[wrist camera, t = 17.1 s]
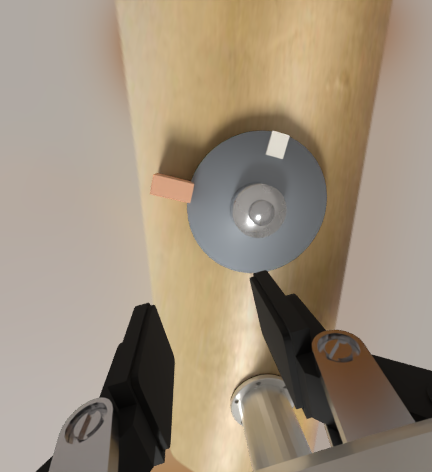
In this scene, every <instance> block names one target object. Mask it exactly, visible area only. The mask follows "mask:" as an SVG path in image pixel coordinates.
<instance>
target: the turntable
mask: <svg viewBox="0 0 432 472" xmlns="http://www.w3.org/2000/svg"><path fill="white" fill-rule="evenodd" d="M249 183H262V184H266V185H269V186H272V187H274V188H276V189H277V190H278V191H280V193H281V194H282V195H283V197H284V199H285V202H286V206H287V212H286V217H285V220H284V222H283V224H282V225H281V227H280V228H279V229H278V230H277V231H276V232H275V233H273V234H272V235H270V236H267V237H264V238H253V237H249V236H247V235H245V234H244V233H242V232H241V231H240V230H239V228H238V227H237V226H236V225H235V223H234V222H233V220H232V218H231V215H230V203H231V199H232V197H233V195H234V194H235V193H236V191H237V190H238V189H239V188H241V187H242V186H244V185H246V184H249ZM150 194H151V195H156V196H160V197H164V198H169V199H173V200H178V201H182V202H187V213H188V220H189V224H190V228H191V231H192V233H193V236H194V238H195V240H196V241H197V243H198V245H199V246H200V247H201V249H202V250H203V251H204V252H205V253H206V254H207V255H208V256H209V257H210V258H211V259H212V260H214V261H215V262H217V263H218V264H220V265H222V266H224V267H226V268H228V269H231V270H234V271H238V272H245V273H256V272H260V271H263V270H267V271H270V270H274V269H277V268H279V267H282V266H284V265H286V264H287V263H289V262H291V261H292V260H294V259H295V258H297V257H298V256H299V255H300V254H301V253H302V252H303V251H304V250H305V249H306V248H307V247H308V246H309V245H310V243H311V242H312V241H313V239H314V238H315V236H316V234H317V233H318V231H319V229H320V226H321V224H322V222H323V218H324V215H325V210H326V201H327V193H326V184H325V180H324V176H323V173H322V171H321V168H320V166H319V164H318V162H317V161H316V159H315V158H314V157H313V155H312V154H311V153H310V152H309V151H308V150H307V149H306V147H304V146H303V145H302V144H301V143H299V142H298V141H296V140H294V139H293V138H291V137H290V135H286V134H283V133H279V132H276V131H251V132H246V133H242V134H239V135H237V136H234V137H231V138H230V139H228V140H226V141H224V142H222V143H220V144H219V145H218V146H216V147H215V148H214V149H212V150H211V151H210V152H209V153H208V154H207V155H206V156H205V158H204V159H203V160H202V161H201V163H200V164H199V166H198V167H197V169H196V171H195V173H194V175H193V177H192V180H191V181H188V180H184V179H180V178H176V177H172V176H168V175H164V174H159V173H156V174H154V175H153V180H152V185H151V191H150Z"/></svg>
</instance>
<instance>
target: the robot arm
mask: <svg viewBox="0 0 432 472" xmlns="http://www.w3.org/2000/svg"><path fill="white" fill-rule="evenodd" d="M253 276H254V277H251V278H250V283H251V287H252V291H253V296H254V300H255V305H256V309H257V313H258V318H259V322H260V327H261V330H262V334H263V336H264V339H265V341H266V343H267V345H268V348H269V350H270V352H271V354H272V357H273V359H274V361H275V363H276V365H277V368H278V370H279V372H280V374H281V377H280V376H276V375H269V374H266V375H259V376H255V377H253V378H250V379H248V380H247V381H245V382H243V383H242V384H241V385H240V386H239V387H238V388H237V389H236V390H235V392H234V394H233V396H232V399H231V405H230V406H231V412H232V415H233V417H234V419H235V420H236V421H237V422H238V423H239V424H240V425H242V426H243V428H244V433H245V437H246V442H247V447H248V451H249V456H250V460H251V465H252V469H253V472H432V371H430V370H426V369H423V368H419V367H415V366H412V365H408V364H404V363H401V362H397V361H393V360H390V359H386V358H382V357H379V356H375V355H371V353H370V352H369V350H368V349H367V348H366V346H365V344H364V343H363V342H362V341H361V340H360V338H358V337H357V336H355V335H354V334H352V333H349V332H346V331H342V330H327V331H326V330H325V329H324V328H323V326H322V325H321V324H320V323H319V322H318V320H317V319H316V318H315V317H314V316H313V314H312V313H311V312H310V311H309V310H308V308H307V307H306V306H305V305H304V304H303V302H302V301H301V300H300V299H299V298H298V296H297V295H296V294H290V295H287V296H285V294H284V293H283V292H282V290H281V289H280V288H279V286H278V285H277V284H276V282H275V281H274V280H273V278H272V277H271V276H270V274H269V273H268V272H267V270H263V271H260V272H256V273H253ZM174 367H175V360H174V355H173V352H172V349H171V347H170V344H169V341H168V339H167V336H166V333H165V331H164V328H163V325H162V322H161V320H160V317H159V314H158V312H157V309H156V307H155V305H150V304H149V303H146V304H142V305H139V306H136V307H135V308H134V311H133V314H132V316H131V320H130V322H129V325H128V328H127V331H126V334H125V337H124V340H123V342H122V343H120V344H119V346H118V348H117V350H116V353H115V356H114V359H113V361H112V364H111V367H110V370H109V372H108V375H107V378H106V381H105V383H104V386H103V389H102V392H101V395H100V397H99V398H96V399H93V400H90V401H88V402H87V403H85V404H83V405H82V406H80V407H79V408H78V409H77V410H75V411H74V412H73V414H72V415H71V416H70V417H69V418H68V419H67V421H66V422H65V424H64V425H63V427H62V429H61V431H60V434H59V437H58V440H57V444H56V447H55V451H54V455H53V456H52V457H51V458H50V459H49V460H48V461H47V462H46V463H45V464H44V465H42V466H41V467H40V468H39V469H38V470H37V471H36V472H150V471H151V470H152V468H153V467H154V466H156V465H159V464H162V463H164V461H165V449H169V448H170V444H171V425H172V406H173V386H174ZM294 405H295V407H296V409H299V408H302V409H303V412H304V414H305V416H306V418H307V419H308V418H311V417H312V418H314V419H316V420H318V421H320V422H322V423H324V425H325V430H326V433H327V436H328V439H329V442H330V445H331V448H328V449H325V450H321V451H318V452H315V453H312V452H311V450H310V447H309V445H308V443H307V441H306V438H305V436H304V434H303V431H302V429H301V427H300V425H299V422H298V420H297V418H296V415H295V413H294V411H293V407H294Z"/></svg>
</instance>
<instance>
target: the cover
mask: <svg viewBox="0 0 432 472" xmlns="http://www.w3.org/2000/svg"><path fill="white" fill-rule="evenodd" d="M286 212H287V206H286V202H285V199H284V197H283V195H282V194H281V193H280V191H278V190H277V189H276V188H274V187H272V186H269V185H266V184H262V183H249V184H246V185H244V186H242V187H241V188H239V189H238V190H237V191H236V193H235V194H234V195H233V197H232V199H231V203H230V215H231V218H232V220H233V222H234V223H235V225H236V226H237V227H238V228H239V230H240V231H241V232H242V233H244V234H245V235H247V236H249V237H253V238H264V237H267V236H270V235H272V234H273V233H275V232H276V231H277V230H278V229H279V228H280V227H281V225H282V224H283V222H284V220H285V217H286Z"/></svg>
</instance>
